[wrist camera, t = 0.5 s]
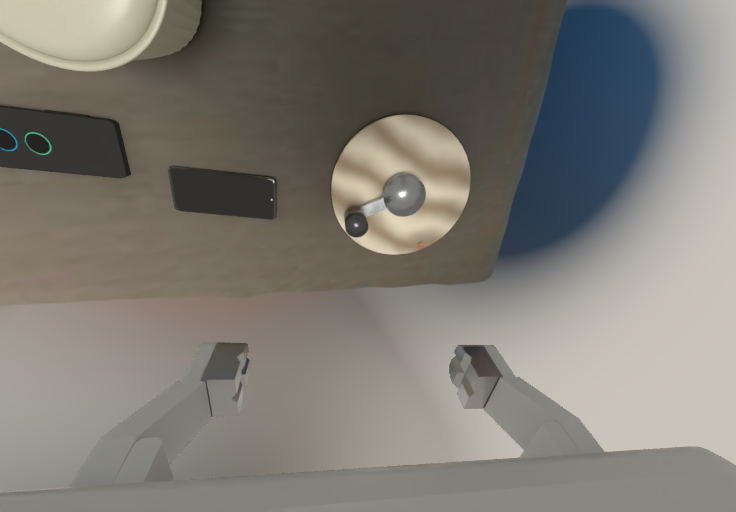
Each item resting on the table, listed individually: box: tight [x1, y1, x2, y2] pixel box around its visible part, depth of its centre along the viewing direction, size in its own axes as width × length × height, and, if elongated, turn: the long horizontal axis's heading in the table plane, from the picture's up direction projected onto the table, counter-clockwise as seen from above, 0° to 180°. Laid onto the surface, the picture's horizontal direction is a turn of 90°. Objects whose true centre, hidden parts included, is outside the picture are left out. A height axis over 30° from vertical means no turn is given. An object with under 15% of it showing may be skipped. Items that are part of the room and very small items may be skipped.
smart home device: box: [0, 106, 131, 178], centre depth 42 cm, size 8×2×20 cm
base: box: [331, 114, 470, 254], centre depth 51 cm, size 24×24×2 cm
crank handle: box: [344, 173, 426, 238], centre depth 48 cm, size 14×7×6 cm, turn 112°
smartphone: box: [168, 166, 276, 219], centre depth 48 cm, size 7×1×16 cm
